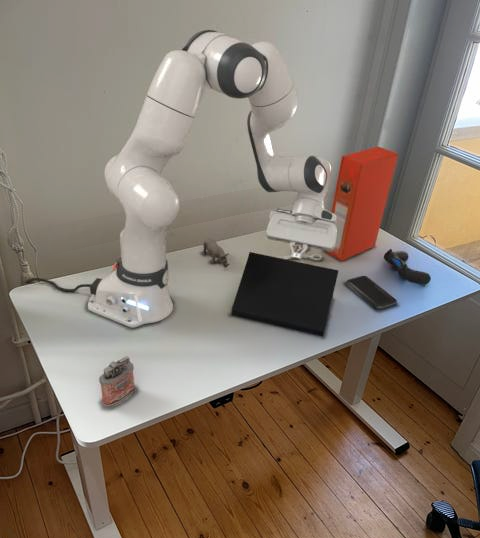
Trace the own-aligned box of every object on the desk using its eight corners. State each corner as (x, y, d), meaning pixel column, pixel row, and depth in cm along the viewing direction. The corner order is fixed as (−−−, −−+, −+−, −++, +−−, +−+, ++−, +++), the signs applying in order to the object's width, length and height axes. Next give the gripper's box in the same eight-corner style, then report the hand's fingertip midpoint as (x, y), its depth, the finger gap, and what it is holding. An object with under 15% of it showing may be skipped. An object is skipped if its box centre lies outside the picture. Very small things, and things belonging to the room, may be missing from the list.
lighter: (108, 410, 107) (104, 376, 100) (99, 402, 108) (94, 368, 102) (138, 391, 112) (136, 358, 105) (129, 383, 113) (126, 350, 107)
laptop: (248, 281, 150) (249, 275, 149) (332, 299, 145) (333, 293, 144) (231, 315, 136) (231, 309, 135) (323, 336, 132) (324, 331, 130)
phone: (378, 307, 142) (345, 280, 152) (377, 311, 142) (344, 283, 152) (399, 301, 145) (365, 274, 155) (398, 304, 146) (365, 278, 156)
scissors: (327, 256, 163) (275, 269, 154) (327, 258, 164) (275, 271, 155) (308, 241, 170) (258, 252, 161) (308, 243, 171) (257, 254, 162)
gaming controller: (395, 265, 168) (376, 253, 163) (407, 251, 166) (388, 239, 161) (422, 293, 156) (402, 282, 150) (435, 279, 154) (415, 267, 148)
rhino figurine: (222, 274, 152) (223, 257, 148) (199, 253, 161) (200, 236, 157) (233, 271, 154) (234, 254, 150) (211, 250, 162) (211, 233, 159)
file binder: (323, 250, 168) (342, 155, 148) (356, 237, 177) (378, 146, 157) (341, 261, 163) (363, 164, 143) (374, 246, 172) (399, 154, 153)
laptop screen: (249, 253, 141) (249, 251, 141) (338, 271, 137) (338, 270, 136) (231, 310, 135) (231, 308, 134) (324, 331, 130) (324, 330, 130)
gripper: (270, 203, 144) (259, 248, 143) (341, 216, 141) (330, 263, 139) (272, 211, 151) (261, 255, 149) (340, 224, 147) (330, 269, 145)
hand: (295, 259), depth 144 cm, fingers closed
